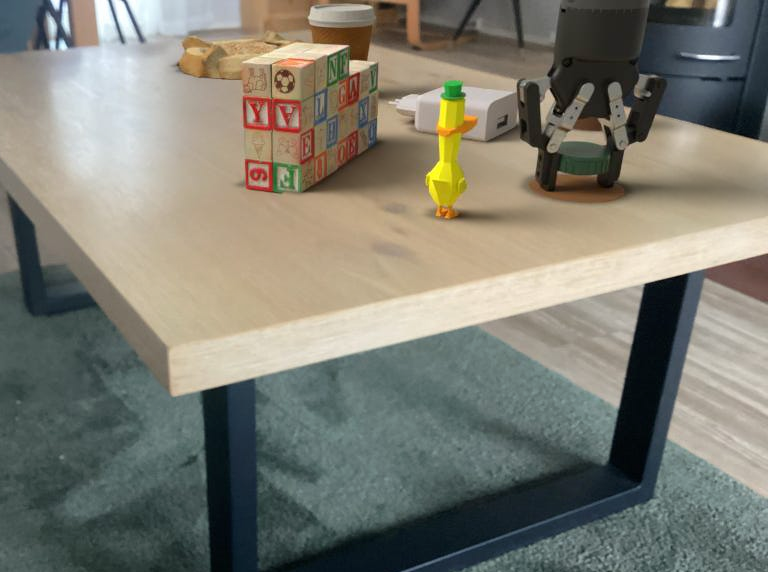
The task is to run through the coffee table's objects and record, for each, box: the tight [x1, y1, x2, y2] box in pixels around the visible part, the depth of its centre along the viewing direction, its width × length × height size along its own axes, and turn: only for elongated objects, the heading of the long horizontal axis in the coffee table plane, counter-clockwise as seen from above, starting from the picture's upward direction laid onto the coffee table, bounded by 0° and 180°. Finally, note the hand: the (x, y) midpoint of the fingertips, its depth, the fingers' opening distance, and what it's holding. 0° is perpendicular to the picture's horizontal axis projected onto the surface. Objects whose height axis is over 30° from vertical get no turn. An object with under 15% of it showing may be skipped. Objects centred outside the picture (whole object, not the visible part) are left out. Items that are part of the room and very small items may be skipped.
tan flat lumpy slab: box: [175, 29, 307, 80], centre depth 146 cm, size 24×24×5 cm
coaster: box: [528, 174, 626, 204], centre depth 84 cm, size 9×9×1 cm
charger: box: [387, 85, 518, 143], centre depth 106 cm, size 5×9×15 cm
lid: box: [557, 140, 612, 176], centre depth 83 cm, size 6×6×2 cm
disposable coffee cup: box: [307, 3, 377, 61], centre depth 122 cm, size 10×10×12 cm
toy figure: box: [425, 80, 478, 219], centre depth 75 cm, size 7×4×12 cm, turn 142°
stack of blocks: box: [241, 42, 379, 194], centre depth 90 cm, size 21×6×12 cm, turn 155°
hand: (575, 186), depth 84 cm, fingers closed on lid, 5 cm apart
